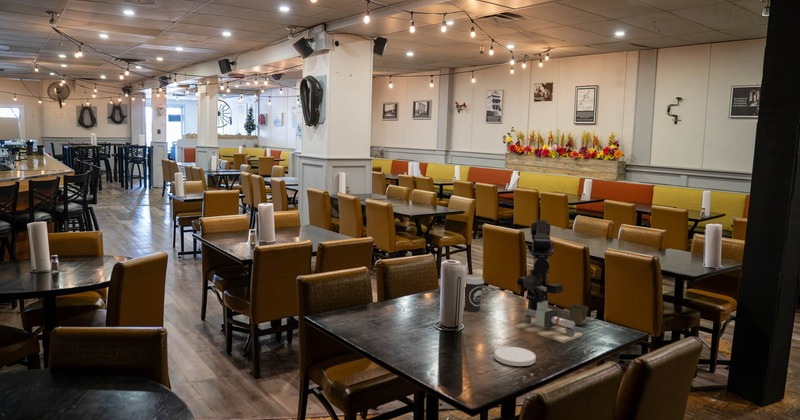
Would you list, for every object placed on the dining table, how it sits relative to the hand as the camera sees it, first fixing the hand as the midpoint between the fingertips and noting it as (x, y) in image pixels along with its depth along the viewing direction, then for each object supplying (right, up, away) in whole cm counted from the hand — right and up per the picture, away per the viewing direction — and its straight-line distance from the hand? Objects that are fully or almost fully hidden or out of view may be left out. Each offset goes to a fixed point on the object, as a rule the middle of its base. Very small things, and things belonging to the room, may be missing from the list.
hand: (538, 305), depth 234 cm
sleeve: (+2, -7, -2) cm, 8 cm away
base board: (+3, -10, -3) cm, 11 cm away
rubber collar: (+4, -8, -4) cm, 9 cm away
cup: (+18, -10, +7) cm, 22 cm away
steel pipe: (+3, -10, -3) cm, 11 cm away
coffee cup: (-24, -6, +24) cm, 35 cm away
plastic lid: (-17, -14, -34) cm, 41 cm away
